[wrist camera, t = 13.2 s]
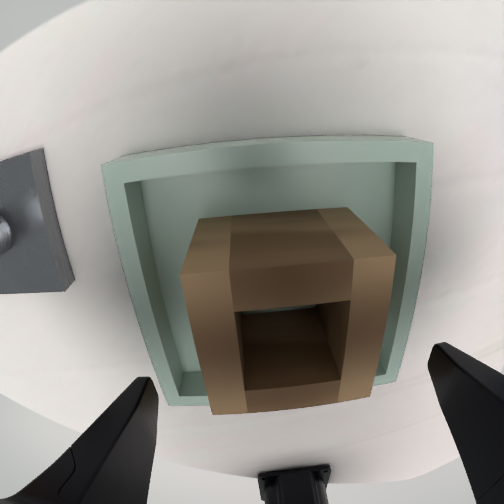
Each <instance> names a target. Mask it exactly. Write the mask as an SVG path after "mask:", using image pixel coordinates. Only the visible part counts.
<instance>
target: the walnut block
mask: <svg viewBox="0 0 504 504" xmlns="http://www.w3.org/2000/svg"><path fill="white" fill-rule="evenodd" d="M395 263H396V254H395V253H394V252H393V251H392V250H391V249H390V248H389V247H388V246H387V245H386V244H385V243H384V242H383V241H382V240H381V239H380V238H379V237H378V236H377V235H376V234H375V233H374V232H373V231H372V230H371V229H370V228H369V227H368V226H367V225H366V224H365V223H364V222H363V221H362V220H361V219H359V218H358V217H357V216H356V215H355V214H354V213H353V212H352V211H351V210H350V209H349V208H348V207H341V208H325V209H309V210H295V211H282V212H269V213H256V214H244V215H233V216H222V217H211V218H201V219H199V220H198V222H197V225H196V228H195V231H194V234H193V237H192V240H191V242H190V245H189V248H188V251H187V254H186V257H185V260H184V263H183V266H182V269H181V272H180V278H181V283H182V288H183V293H184V298H185V303H186V308H187V312H188V317H189V321H190V326H191V330H192V335H193V339H194V344H195V348H196V352H197V356H198V360H199V365H200V369H201V373H202V377H203V381H204V384H205V388H206V392H207V396H208V400H209V403H210V407H211V411H212V414H213V415H222V414H241V413H256V412H268V411H278V410H288V409H296V408H304V407H312V406H319V405H326V404H332V403H338V402H344V401H349V400H355V399H360V398H365V397H370V394H371V390H372V386H373V382H374V378H375V374H376V370H377V365H378V361H379V356H380V352H381V347H382V342H383V337H384V332H385V327H386V321H387V316H388V310H389V304H390V298H391V292H392V285H393V278H394V270H395ZM313 304H316V307H314V308H305V309H296V310H286V311H275V312H264V313H253V314H242V311H251V310H262V309H273V308H284V307H294V306H304V305H313Z"/></svg>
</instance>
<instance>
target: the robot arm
mask: <svg viewBox="0 0 504 504" xmlns="http://www.w3.org/2000/svg"><path fill="white" fill-rule="evenodd" d="M428 370H429V373H430V376H431V379H432V382H433V385H434V388H435V392H436V395H437V398H438V401H439V404H440V407H441V409H442V412H443V414H444V416H445V419H446V421H447V424H448V426H449V428H450V431H451V433H452V436H453V438H454V441H455V444H456V446H457V449H458V451H459V454H460V457H461V459H462V462H463V465H464V467H465V470H466V473H467V476H468V479H469V482H470V485H471V487H472V491H473V494H474V497H475V500H476V504H504V375H503V374H501V373H500V372H498V371H496V370H494V369H493V368H491V367H489V366H487V365H485V364H484V363H482V362H480V361H478V360H477V359H475V358H473V357H471V356H470V355H468V354H466V353H464V352H462V351H461V350H459V349H457V348H455V347H453V346H452V345H450V344H448V343H446V342H442V343H438V344H435V345H434V346H433V348H432V351H431V354H430V357H429V360H428ZM158 402H159V399H158V394H157V391H156V389H155V386H154V384H153V381H152V379H151V378H150V377H137V378H136V379H135V380H134V381H133V382H132V383H131V384H130V385H129V386H128V387H127V388H126V389H125V390H124V391H123V392H122V393H121V394H120V396H119V397H118V398H117V399H116V400H115V401H114V402H113V403H112V404H111V405H110V406H109V407H108V408H107V409H106V410H105V411H104V412H103V413H102V414H101V415H100V416H99V417H98V418H97V419H96V420H95V421H94V422H93V423H92V425H91V426H90V427H89V428H88V429H87V430H86V431H85V432H84V433H83V434H82V435H81V436H80V437H79V438H78V439H77V440H76V441H75V442H74V443H73V444H72V445H71V447H69V448H68V449H67V450H66V451H65V452H64V453H63V454H62V455H61V456H60V457H59V458H58V459H57V460H56V461H55V462H54V463H53V464H52V465H51V466H50V467H48V468H47V469H46V470H45V471H44V472H43V473H41V474H40V475H39V476H38V477H37V478H35V479H34V480H33V481H32V482H30V483H29V484H28V485H27V486H25V487H24V488H23V489H22V490H20V491H19V492H18V493H16V494H14V495H13V496H10V497H8V498H4V499H0V504H147V497H148V490H149V483H150V477H151V471H152V464H153V459H154V453H155V447H156V437H157V419H158ZM330 473H331V468H330V466H329V465H326V466H319V467H313V468H306V469H299V470H291V471H281V472H271V473H261V474H259V475H258V483H259V489H260V495H261V500H263V501H265V504H328V499H327V494H326V487H327V484H328V480H329V476H330Z"/></svg>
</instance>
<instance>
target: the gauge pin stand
mask: <svg viewBox="0 0 504 504" xmlns="http://www.w3.org/2000/svg"><path fill="white" fill-rule="evenodd" d="M73 281H74V276H73V273H72V270H71V267H70V264H69V260H68V257H67V254H66V250H65V247H64V243H63V240H62V236H61V232H60V228H59V224H58V220H57V216H56V212H55V208H54V204H53V199H52V194H51V190H50V185H49V180H48V174H47V169H46V163H45V157H44V151H43V148H42V149H39V150H35V151H32V152H28V153H25V154H22V155H19V156H16V157H13V158H10V159H7V160H4V161H1V162H0V294H16V293H41V292H62V291H66V290H67V289H68V287H69V286H70V285H71V284H72V282H73Z"/></svg>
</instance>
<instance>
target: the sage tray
mask: <svg viewBox="0 0 504 504" xmlns="http://www.w3.org/2000/svg"><path fill="white" fill-rule="evenodd" d="M101 168H102V174H103V180H104V186H105V191H106V196H107V201H108V206H109V211H110V216H111V221H112V225H113V230H114V234H115V238H116V243H117V247H118V251H119V255H120V259H121V263H122V267H123V271H124V274H125V278H126V282H127V285H128V289H129V293H130V296H131V299H132V303H133V306H134V310H135V313H136V316H137V319H138V323H139V326H140V329H141V332H142V335H143V338H144V341H145V344H146V347H147V350H148V353H149V356H150V359H151V361H152V364H153V367H154V370H155V372H156V375H157V378H158V381H159V383H160V386H161V388H162V391H163V394H164V396H165V399H166V401H167V404H168V406H200V405H210V403H209V400H208V396H207V392H206V388H205V384H204V381H203V377H202V373H201V369H200V365H199V360H198V356H197V352H196V348H195V344H194V339H193V335H192V330H191V326H190V321H189V317H188V312H187V308H186V303H185V298H184V293H183V288H182V283H181V278H180V272H181V269H182V266H183V263H184V260H185V257H186V254H187V251H188V248H189V245H190V242H191V240H192V237H193V234H194V231H195V228H196V225H197V222H198V220H199V219H201V218H211V217H222V216H233V215H244V214H256V213H269V212H282V211H295V210H309V209H325V208H341V207H348V208H349V209H350V210H351V211H352V212H353V213H354V214H355V215H356V216H357V217H358V218H359V219H361V220H362V221H363V222H364V223H365V224H366V225H367V226H368V227H369V228H370V229H371V230H372V231H373V232H374V233H375V234H376V235H377V236H378V237H379V238H380V239H381V240H382V241H383V242H384V243H385V244H386V245H387V246H388V247H389V248H390V249H391V250H392V251H393V252H394V253H395V254H396V263H395V270H394V278H393V285H392V292H391V298H390V304H389V310H388V316H387V321H386V327H385V332H384V337H383V342H382V347H381V352H380V356H379V361H378V365H377V370H376V374H375V378H374V382H373V386H376V385H381V384H386V383H390V382H395V381H396V379H397V376H398V373H399V369H400V366H401V362H402V358H403V355H404V351H405V347H406V343H407V339H408V335H409V331H410V327H411V322H412V318H413V313H414V309H415V304H416V299H417V294H418V289H419V283H420V278H421V272H422V266H423V259H424V253H425V246H426V238H427V230H428V221H429V211H430V200H431V187H432V170H433V143H431V142H427V141H423V140H418V139H414V138H409V137H404V136H370V135H332V136H298V137H278V138H262V139H249V140H237V141H226V142H216V143H207V144H199V145H190V146H183V147H175V148H168V149H161V150H155V151H148V152H142V153H136V154H130V155H125V156H121V157H119V158H117V159H114V160H112V161H110V162H107V163H105V164H103V165H101ZM314 307H316V304H313V305H304V306H294V307H284V308H273V309H262V310H251V311H242V314H253V313H264V312H275V311H286V310H296V309H305V308H314Z"/></svg>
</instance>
